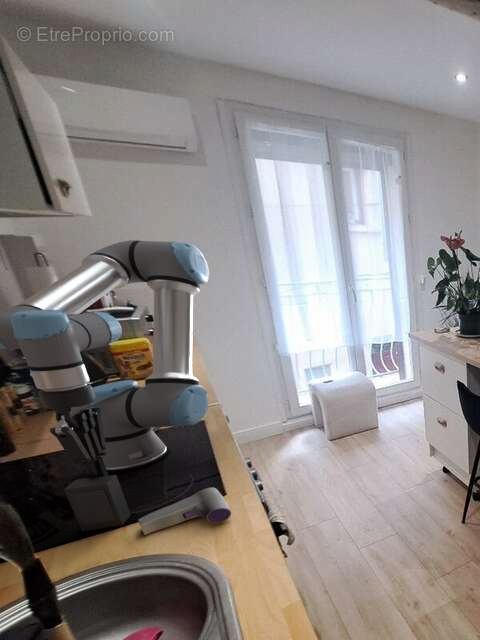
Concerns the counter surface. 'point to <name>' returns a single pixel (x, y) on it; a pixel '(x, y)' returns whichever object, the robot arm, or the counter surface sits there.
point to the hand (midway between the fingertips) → (101, 484)
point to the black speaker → (98, 502)
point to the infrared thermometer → (188, 511)
